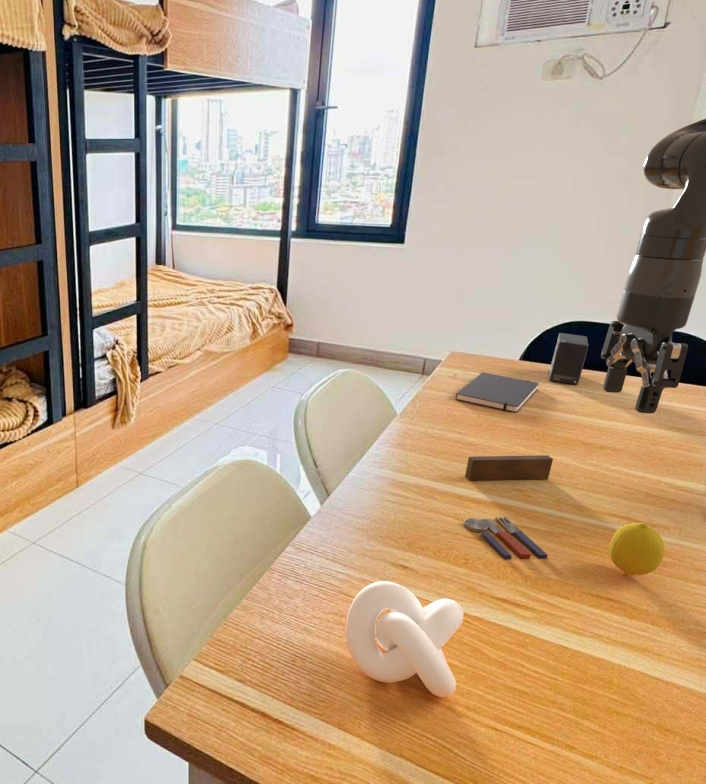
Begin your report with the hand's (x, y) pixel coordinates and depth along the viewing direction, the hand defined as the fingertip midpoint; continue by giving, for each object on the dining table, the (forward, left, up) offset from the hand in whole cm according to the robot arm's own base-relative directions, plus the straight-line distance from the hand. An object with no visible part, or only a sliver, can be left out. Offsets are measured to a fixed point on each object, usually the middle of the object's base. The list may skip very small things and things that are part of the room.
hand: (627, 401), depth 90 cm
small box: (-9, -79, -20) cm, 82 cm away
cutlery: (+14, +11, -20) cm, 26 cm away
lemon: (-1, +14, -20) cm, 25 cm away
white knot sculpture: (+26, +45, -20) cm, 56 cm away
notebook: (+8, -59, -20) cm, 63 cm away
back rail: (+11, -11, -20) cm, 25 cm away
